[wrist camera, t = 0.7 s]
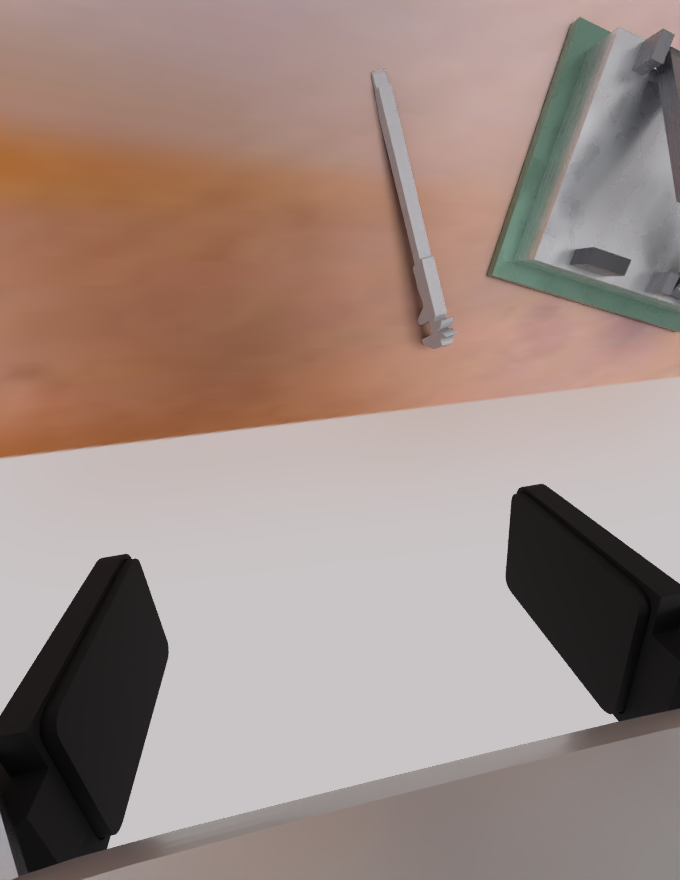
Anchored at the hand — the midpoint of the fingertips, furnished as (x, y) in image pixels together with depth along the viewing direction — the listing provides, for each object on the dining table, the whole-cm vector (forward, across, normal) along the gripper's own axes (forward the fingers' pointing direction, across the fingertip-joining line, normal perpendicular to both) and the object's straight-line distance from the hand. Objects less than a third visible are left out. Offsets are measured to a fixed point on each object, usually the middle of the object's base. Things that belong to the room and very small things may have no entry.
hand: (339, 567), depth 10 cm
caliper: (+29, -11, -10) cm, 32 cm away
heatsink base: (+28, -32, -10) cm, 44 cm away
